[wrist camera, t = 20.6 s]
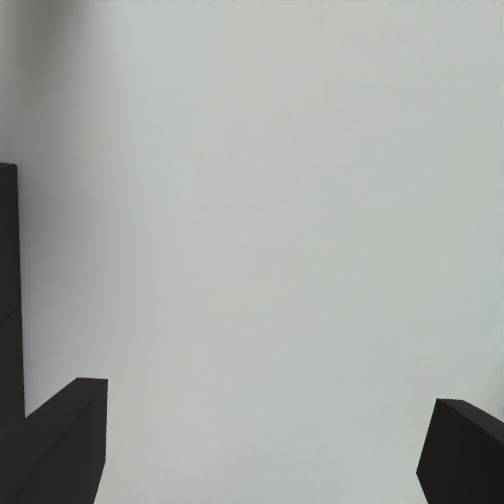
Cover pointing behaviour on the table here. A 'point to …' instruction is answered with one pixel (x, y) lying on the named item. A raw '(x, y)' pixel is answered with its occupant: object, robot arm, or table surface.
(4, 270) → the black u-shaped block
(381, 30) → the table surface
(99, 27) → the table surface
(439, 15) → the table surface
